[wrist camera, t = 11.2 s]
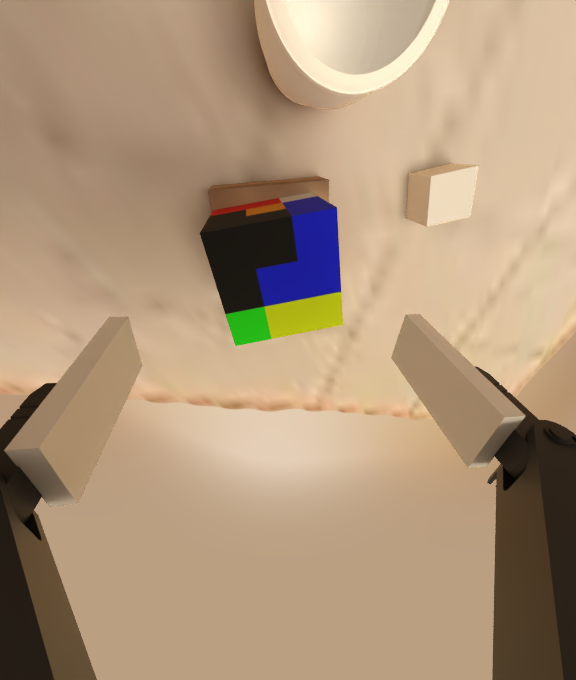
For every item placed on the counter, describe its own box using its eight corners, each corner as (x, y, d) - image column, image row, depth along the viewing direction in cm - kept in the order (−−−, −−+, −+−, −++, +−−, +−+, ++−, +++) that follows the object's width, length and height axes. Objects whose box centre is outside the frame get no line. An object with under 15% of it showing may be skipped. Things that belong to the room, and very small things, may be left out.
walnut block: (212, 185, 32) (207, 190, 28) (318, 176, 32) (328, 179, 28) (231, 285, 38) (230, 301, 34) (319, 276, 39) (327, 290, 35)
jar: (227, 9, 24) (208, -138, 12) (335, -79, 22) (446, -364, 10) (288, 141, 30) (317, 135, 18) (378, 79, 28) (482, 22, 16)
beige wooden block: (408, 173, 33) (431, 176, 29) (449, 163, 33) (478, 165, 29) (406, 218, 36) (426, 226, 32) (444, 209, 36) (470, 216, 32)
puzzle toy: (310, 192, 29) (336, 207, 20) (319, 283, 34) (342, 324, 26) (213, 210, 29) (199, 233, 20) (238, 299, 34) (235, 345, 26)
